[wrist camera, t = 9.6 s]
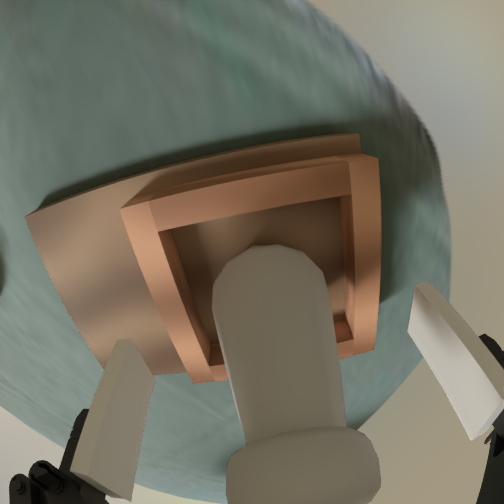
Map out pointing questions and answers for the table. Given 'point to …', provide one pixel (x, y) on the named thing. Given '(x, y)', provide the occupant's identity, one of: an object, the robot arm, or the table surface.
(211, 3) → the table surface
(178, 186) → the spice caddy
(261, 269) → the salt shaker
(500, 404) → the robot arm
